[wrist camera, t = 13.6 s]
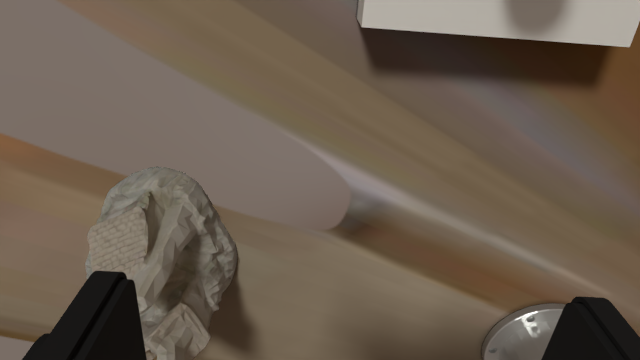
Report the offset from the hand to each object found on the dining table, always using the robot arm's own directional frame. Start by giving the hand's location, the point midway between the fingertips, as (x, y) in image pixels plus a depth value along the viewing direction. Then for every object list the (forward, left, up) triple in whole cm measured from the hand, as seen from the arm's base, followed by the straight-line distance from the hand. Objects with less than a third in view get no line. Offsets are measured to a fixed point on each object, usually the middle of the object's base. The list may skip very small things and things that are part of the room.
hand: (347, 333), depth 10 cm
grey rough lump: (+15, +20, -29) cm, 38 cm away
